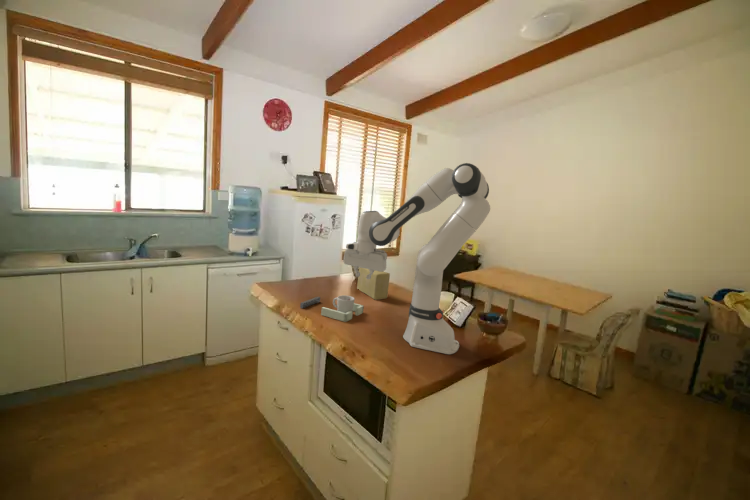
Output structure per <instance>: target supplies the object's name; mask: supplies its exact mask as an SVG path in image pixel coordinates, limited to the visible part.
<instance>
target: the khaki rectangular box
mask: <svg viewBox="0 0 750 500" xmlns="http://www.w3.org/2000/svg"><path fill="white" fill-rule="evenodd" d="M358 271H359V272H360V276H359V277H357V286H356V289H357V290H358V289H359V291H360V292H362V293H363V294H365V295H367V296H368V297H370V298H372V299H373V300H374V301H376V300H378V301H379V300H384V299H387V298H388V294H389V293H388V292H389V286H390V285H389V283H390V276H391V273H389V272H386V271H382V272H380V271H375V270H374V272H373V274H372V275H371V279H367V278H366V277H367V275H368V274H369V273H370V272H369V269H366V268H361V267H359V268H358Z"/></svg>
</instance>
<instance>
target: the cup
mask: <svg viewBox="0 0 750 500" xmlns="http://www.w3.org/2000/svg"><path fill="white" fill-rule="evenodd" d="M355 300H356V299H355V297H354V296H350V295H338V296H337V297H335V298H333V299H332V305H333V307H334V308H336V309H337V310H336V311H340V312H343V313H347V312H349V311H352V310H353V305H354V303H355Z"/></svg>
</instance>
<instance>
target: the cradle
mask: <svg viewBox="0 0 750 500" xmlns="http://www.w3.org/2000/svg"><path fill="white" fill-rule="evenodd" d="M364 307H365V306H364V305H363V304H359V303H355V302H354V305H353V310H352V311H349V312H347V313H343V312H340V311H337V310H336V309H331V308H328V307H324V306H323V307H321V312H320V315H321V316H324V317H327V318H330V319H333V320H334V319H335V320H336V321H341V322H344V323H346V322H348V321H350V320H352V319H353V312H355V313H354V316H360V315H362V314H364Z"/></svg>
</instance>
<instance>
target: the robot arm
mask: <svg viewBox="0 0 750 500" xmlns="http://www.w3.org/2000/svg"><path fill="white" fill-rule="evenodd" d="M489 193H490V186H489V184H488V182H487V181H486V177H485V176H484V174H483V173H482V172H481V170H480V169H479V167H477V166H476V165H474V164H473V163H468V162H466V163H465V162H464V163H461V164H459V165H457V166H456V168H454V169H452V168H449V167H445V168H442V169H441V170H439V171H438V172H436V173H435V174H433V175H431V176H430V177H429V178H428V179H426V181H424V182H423V183H422V184H421V185H420V186H419V187H418V188H417V189H416V190H415V192H414V193H413V194H412V195H411V196H410V197H409V199H408V200H407V201H406V202H404V203H403V204H402V205H401V206H400V207H399V208H398V209H396V210H394V211H393V213H392V214H390V215H389V216H388V217H387V218H386V217H385V216H383V215H382V214H381V213H380V212H379V211H377V210H368V211H367V210H366V211H362V213H361V214H360V217H359V220H358V227H357V232H358V235H357V238H356V242H355V241H354V242H351V243H347V244H346V245H345V248H346V249H345V251H344V252H343V264H344V265H347V266H352V267H353V270H354V272H355V277H357V278H358V277H359V276H360V272H359V267H361V268H366V269H369V272H370V273H369V274H368V275H367V277H366V278H367V279H371V275H372V274H373V272H374V270H375V271H380V272H382V271H383V272H386V270H387V259H388V253H387V252H386V251H385V250H383V249H379V248H378V249H377V246H378V247H385V246H386V245H388V244H391V243H392V242H395V241H396V240H397V239H398V238H399V236H400V234H401V232H400V230H401V227H403V226H404V225H405V224H407V223H408V222H409V221H410V220H412V219H413V218H415V217H416V216H418V215H421V214H424V213H427V212H429V211H432V210H433V209H436V208H437V207H439V206H440V205H441V204H443V202H445V201H446V200H447V199H448V198H450V197H451V196H453V195H457V196H458V197H459V198H461V201H460V202H461V203H460V204H459V206H458V207H457V208H456V209H455V210H454V211H453V213H451V215H449V217H448V218H447V219H446V220H445V222H444V223H443V224H442V225H441V226H440V227H439V229H438V230H437V231H436V232H435V234H434V235H433V236H432V237H431V239H430V240H429V241H428V243H426V244H425V245H423V246H421V247H420V248H419V251H418V253H417V258H416V264H415V274H414V282H413V289H412V297H411V303H409V304H410V305H409V310H408V321H407V324H406V328H405V331H404V333H403V335H402V338H403V339H404V340H405V341H406V342H407V343H408V344H409V345H410V346H411V347H413V348H417V349H421V350H426V351H430V352H431V351H432V352H435V353H441V354H445V355H453V354H455V353H457V352H458V351H459V348H460V342H459V341H458V340H456V339H455V331H454V328H453V327H451V325H450V324H449V323H448V322H447V321H446V320H445V319H444V318H443V317H444V313H445V311H444V309H443V310H442V309H441V308H440V302H441V301H440V300H441V294H442V288H443V287H442V286H443V276H444V270H445V269H446V268H447V267H448V265H449V264H450V263H451V261H452V260H453V259H454V258H455V257H456V255H457V254H458V253H459V251H460V250H461V248H462V247H463V246H464V245H465V243H467V242H468V240H469V239H470V238H471V237H472V236H473V235H474V233H475V232H476V231H477V230H478V229H479V228H480V227H481V225H482V224H483V223H484V221H485V220H486V218H487V217H488V216H489V214H490V212H491V205H490V203H489V201H488V200H487V198H488V196H489Z"/></svg>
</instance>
